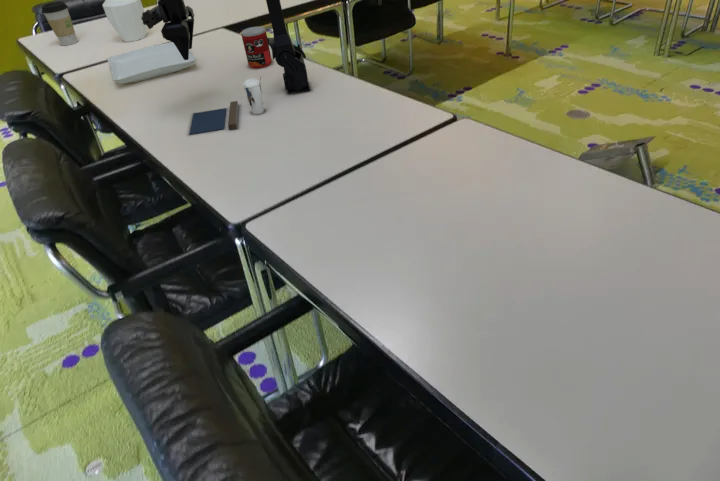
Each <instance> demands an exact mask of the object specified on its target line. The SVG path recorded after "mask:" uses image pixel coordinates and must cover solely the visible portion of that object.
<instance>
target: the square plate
mask: <svg viewBox="0 0 720 481" xmlns="http://www.w3.org/2000/svg"><path fill="white" fill-rule="evenodd" d="M106 59H107V60H106V61H107V62H108V65H109V68H110V72H111V77H112V81H113V82H115V83H117V84H121V85H122V84H130V83H137V82H142V81H146V80H150V79H153V78H157V77H162V76H165V75H168V74H169V75H170V74H173V73H176V72H179V71H182V70H184V69H186V68H190V67H192V66H194V64H195V63H196V61H197V60H198V58H197V57H196V56H195V54H194V53H193V52H192V51H191V49H189V59H188V60H184V59H183V57H182V56H181V54H180V52H179V51H178V49H177V47H176V46H175V44H174V43H173V42H171V41H169V42H165V43H160V44H155V45H151V46H147V47H142V48H139V49H135V50H130V51H127V52H122V53H120V54H116V55H112V56H109V57H107V58H106Z"/></svg>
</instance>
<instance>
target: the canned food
mask: <svg viewBox="0 0 720 481" xmlns="http://www.w3.org/2000/svg"><path fill="white" fill-rule="evenodd" d="M241 39H242V43H243V49H244V52H245V56H246V61H247V64H248V66H249V68H251V69H254V70H255V69H264V68H266V67H268V66H270V65H272V61H273V58H272V53H271V48H270V44H269V38H268V35H267V30H266V28H265V27H264V26H251V27H247V28H244V29H243V30H242V31H241Z"/></svg>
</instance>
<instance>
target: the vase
mask: <svg viewBox="0 0 720 481" xmlns="http://www.w3.org/2000/svg"><path fill="white" fill-rule="evenodd" d="M101 6H102V8H103V11H104V13H105V16H106V18H107V20H108V21H109V23H110V25H111V27H113V30H114V31H115V32H116V33H117V35H118V36H119V37H120V38H121V39H122V40H123V41H124V43H125V42H126V43H132V42H136V41H139V40H142V39H145V37H146V36H147V34H148V33H147V25H144V24H143V20H142V19H141V17H142V16H143V15H142V14H143V12H145V10H144V6H143V3H142V0H104V1H103V3H102V5H101Z"/></svg>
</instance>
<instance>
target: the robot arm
mask: <svg viewBox="0 0 720 481" xmlns="http://www.w3.org/2000/svg"><path fill="white" fill-rule="evenodd" d="M265 3H266V7H267V11H268V15H269V19H270V24H271V28H272V32H273V33H272V34H273V37H268V44H269V48H270V51H271V58H272V60H274V59H275V63H276V64H277V65H278V66H280V67H281V68H283V73H282V78H283V84H284V90H285V91H287V95H291V94H297V93H304V92H309V91H311V87H310V82H309V78H308V72H307V66H306V63H305V60H304V59H305V58H304V56H303V54H302V53H301V52H299V51H298V50H296V48H295V46H294V44H293V40H292V38H291V37H290V34H289V32H288V29H287V26H286V23H285V18H284V17H285V16H284V14H283V8H282V3H281V0H265ZM142 15H143V16H142V17H141V19H142V20H143V24H144V25H146V28H148V29H149V30H152V29H153V28H154V27H155V26H156V25H158V24H159V23H161V22H163V26H162V27H161V29H160V32H161V36H162V38H163V39H164V40H166V41H169V42H173V43H174V44H175V46H176V47H177V49H178V51H179V52H180V54H181V56H182V57H183V59H184V60H188V59H189V50H192V48H193V40H194V38H193V37H194V28H195V13H194V9H193V8H192V7H191V6H189V5H186V4H185V1H184V0H157V5H156V6H154V7H152V8H150V9H146V10H145V11H144V12H143V14H142ZM189 17H190V18H189Z"/></svg>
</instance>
